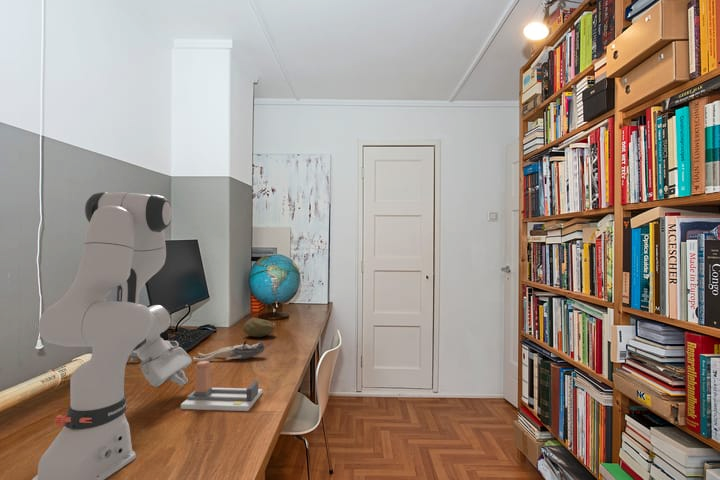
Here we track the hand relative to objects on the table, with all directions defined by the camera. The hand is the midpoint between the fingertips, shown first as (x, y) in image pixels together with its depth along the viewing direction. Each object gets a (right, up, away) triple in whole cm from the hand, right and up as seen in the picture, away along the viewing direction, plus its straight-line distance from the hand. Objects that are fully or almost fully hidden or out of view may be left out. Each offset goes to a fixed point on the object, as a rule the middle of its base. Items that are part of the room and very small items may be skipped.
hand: (184, 383), depth 132 cm
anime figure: (+1, -5, +44) cm, 44 cm away
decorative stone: (+4, -5, +82) cm, 82 cm away
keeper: (+6, -4, 0) cm, 7 cm away
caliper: (-33, -6, +39) cm, 52 cm away
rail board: (+13, -5, -1) cm, 14 cm away
